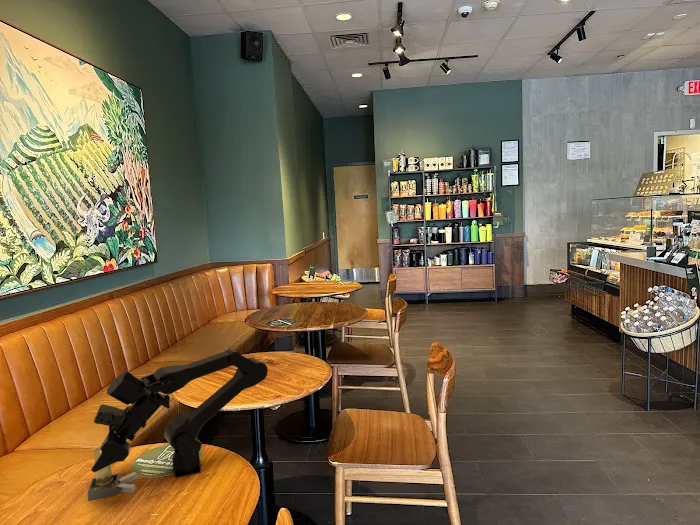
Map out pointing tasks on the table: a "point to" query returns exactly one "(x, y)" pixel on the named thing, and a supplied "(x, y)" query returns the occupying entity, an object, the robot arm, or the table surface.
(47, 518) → the table surface
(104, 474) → the gold metal cylinder
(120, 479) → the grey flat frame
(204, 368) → the robot arm
